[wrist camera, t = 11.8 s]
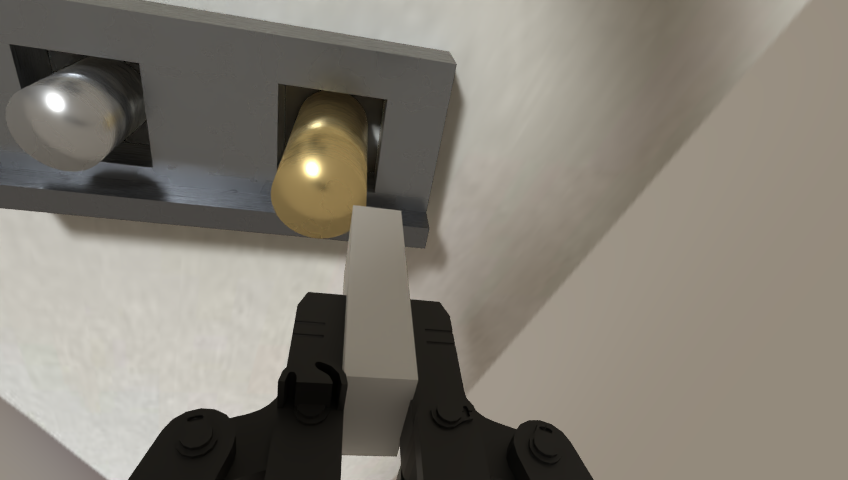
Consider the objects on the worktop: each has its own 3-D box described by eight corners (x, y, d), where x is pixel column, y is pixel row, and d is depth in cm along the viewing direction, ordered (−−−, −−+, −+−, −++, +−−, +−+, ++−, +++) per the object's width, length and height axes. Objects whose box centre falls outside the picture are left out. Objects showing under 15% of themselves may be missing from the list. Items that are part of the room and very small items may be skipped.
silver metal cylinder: (62, 49, 27) (-7, 78, 22) (146, 61, 28) (98, 93, 23) (78, 124, 30) (19, 165, 25) (156, 133, 30) (113, 176, 25)
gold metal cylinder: (299, 84, 29) (270, 149, 21) (371, 95, 30) (371, 162, 22) (296, 151, 32) (270, 234, 24) (364, 159, 33) (361, 242, 24)
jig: (-46, -32, 25) (-130, -22, 21) (449, 51, 29) (462, 74, 25) (13, 165, 31) (-43, 204, 26) (418, 209, 35) (424, 248, 31)
